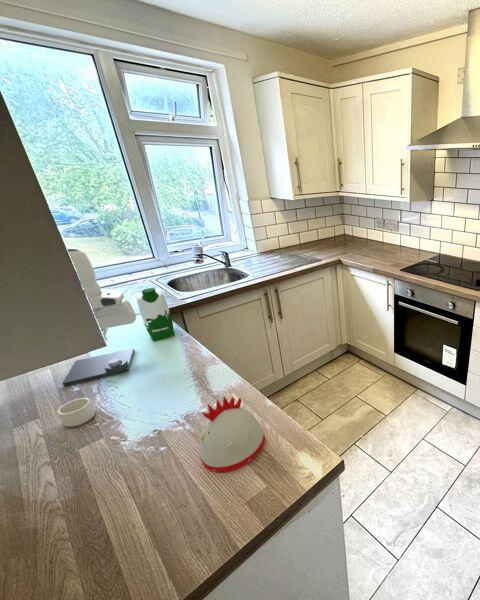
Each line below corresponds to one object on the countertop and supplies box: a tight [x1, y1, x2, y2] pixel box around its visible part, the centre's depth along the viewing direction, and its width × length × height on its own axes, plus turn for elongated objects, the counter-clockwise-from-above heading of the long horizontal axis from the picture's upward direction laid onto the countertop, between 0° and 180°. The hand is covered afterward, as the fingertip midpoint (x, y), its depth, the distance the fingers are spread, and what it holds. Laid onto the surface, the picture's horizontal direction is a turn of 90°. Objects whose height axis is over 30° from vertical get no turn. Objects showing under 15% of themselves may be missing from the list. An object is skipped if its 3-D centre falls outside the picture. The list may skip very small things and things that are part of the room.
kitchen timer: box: [199, 396, 265, 473], centre depth 77 cm, size 14×14×15 cm
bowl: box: [56, 397, 97, 428], centre depth 88 cm, size 6×6×5 cm
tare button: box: [109, 358, 121, 367], centre depth 107 cm, size 3×3×2 cm
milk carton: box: [135, 287, 175, 343], centre depth 126 cm, size 9×9×20 cm
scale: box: [62, 347, 136, 388], centre depth 109 cm, size 16×15×3 cm
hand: (100, 341), depth 101 cm, fingers closed
